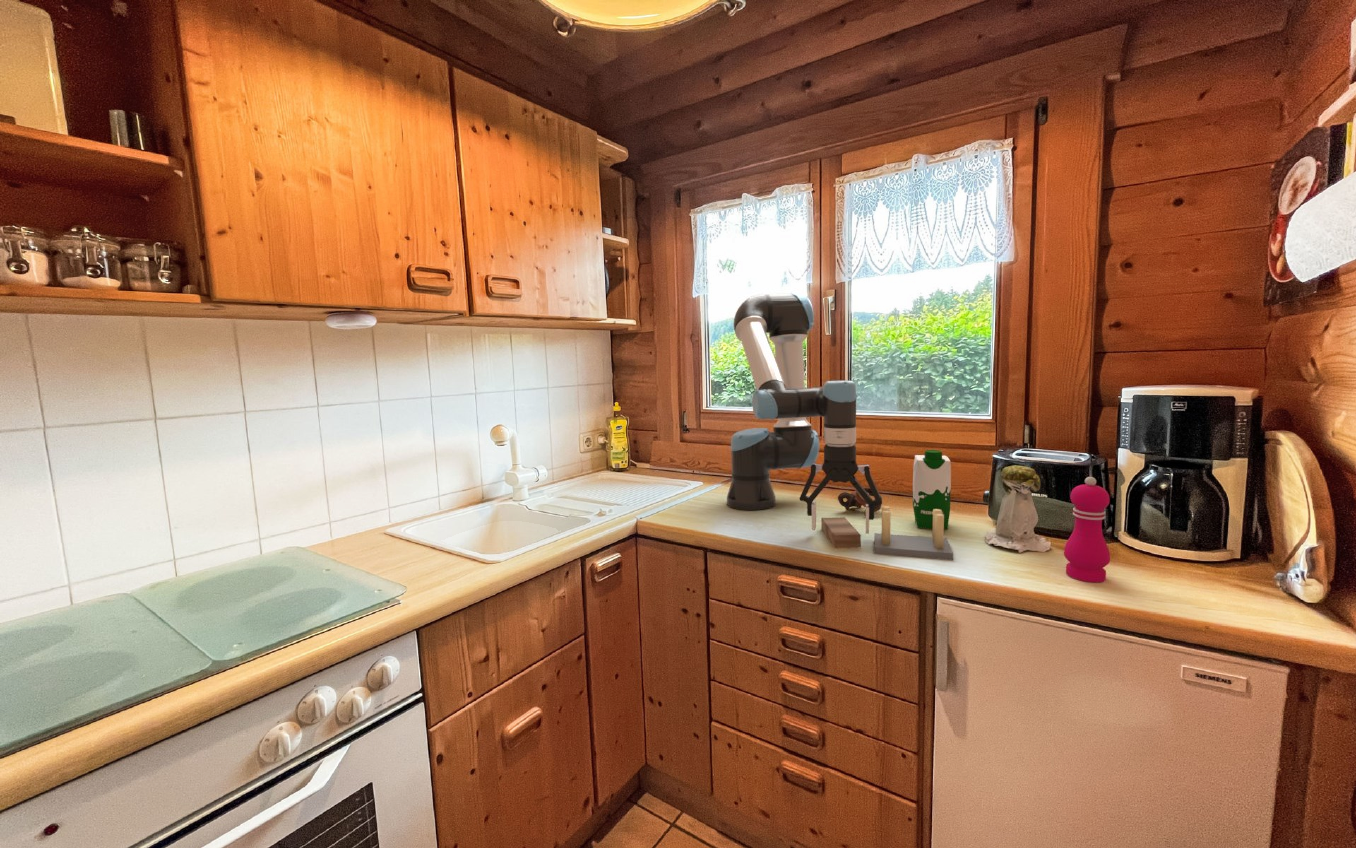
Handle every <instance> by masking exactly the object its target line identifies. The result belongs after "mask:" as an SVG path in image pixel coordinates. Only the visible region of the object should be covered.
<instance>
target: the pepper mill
mask: <svg viewBox="0 0 1356 848" xmlns="http://www.w3.org/2000/svg"><path fill="white" fill-rule="evenodd" d="M1084 483H1085V484H1080V485H1079V484H1078V485H1076V486H1075V487H1073V489H1072V490H1071V492H1070V496H1069V497H1070V501H1071V504H1073V505H1074V507H1073V508H1072V510H1073V512H1072V515H1073V516H1074V521H1075V522H1074V526H1073V527H1074V529H1073V531H1072V532H1071V535H1070V536H1069V537H1068V539H1067V541H1066V543H1065V546H1064V549H1063V550H1064V551H1063V556H1064V557H1065V558H1066V560H1067V561H1068V563H1066V564H1065V574H1066V575H1068V577H1069V578H1072V579H1075V580H1077V581H1082V582H1086V583H1103V582H1105V581H1106V579H1107V571H1106V569H1105V567H1107V566H1108V565H1109V564H1110V562H1111V553H1110V549H1109V547H1108V544H1107V541H1106V540H1105V537H1104V534H1103V525H1102V524H1103V520H1105V519H1106V511H1105V509H1106V508H1107V507H1108V506H1110V505H1109V504H1110V495H1109V493H1108V491H1107V490H1106V488H1103V487H1101V486H1100V485H1097V479H1096V478H1095V477H1093V476H1087V477H1086V478H1085V479H1084Z"/></svg>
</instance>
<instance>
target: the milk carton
mask: <svg viewBox="0 0 1356 848" xmlns="http://www.w3.org/2000/svg"><path fill="white" fill-rule="evenodd" d="M912 470H913V472H912V474H913V475H912V507H913V509H912V510H913V514H914V521H915V524H916V527H917V529H931V530H933V509H940V510H942V514H943V515H944V529H945V530H946V531H948V529H949V521H950V516H951V515H950V514H951V494H952V493H951V490H952V489H951V488H952V486H951V485H952V484H951V483H952V474H951V473H952V472H951V471H952V463H951V460H950V458H949V457H948V456H947V455H943V451H941V450H937V449H926V450H924V455H923V454H921V455H920V454H919V455H918V454H915V455H914V460H913V467H912Z"/></svg>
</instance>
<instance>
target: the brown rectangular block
mask: <svg viewBox="0 0 1356 848" xmlns="http://www.w3.org/2000/svg"><path fill="white" fill-rule="evenodd" d="M821 530H822V532H823V534H824V535H825V536H826V538H827V539H828V540H830V541H829V542H830V543H831V546H833V547H834V549H853V548H854V549H855V548H857V549H859V548H858V547H862V546H861V545H862V543H861V540H862V538H861V537H862V535H861V533H860V532H859V531H858V530H857V529H856V528H855V527H854V525H852V524H851V522H849V520H848V519H847V518H846V516H845V517H844V516H843V517H841V516H837V517H833V516H832V517H821Z"/></svg>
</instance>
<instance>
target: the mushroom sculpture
mask: <svg viewBox="0 0 1356 848" xmlns="http://www.w3.org/2000/svg"><path fill="white" fill-rule="evenodd" d="M1041 478H1043V476H1041ZM1000 479H1001V480H1002V488H1003V490H1004V491H1005V492H1006V493H1005V495H1003V498H1002V499H1001V500H1002V501H1001V504H1000V507H999V511H998V516H997V521H996V526H995V529H989V530H988V531H986V532H985V534H984V537H983V538H984V541H985V544H987V545H988V546H989V545H992V544H993V545H994V546H996V547H998V546H999V547H1002V548H1007V549H1012V550H1017V551H1018V553H1019V554H1020V553H1023V552H1025V551H1033V552H1040V553H1041V552H1042V553H1045V552H1046V551H1049V550H1050V548H1051V539H1050V538H1048V541H1047V540H1046V539H1047V538H1046V537H1041V536H1040V535H1039V534H1036V533H1035V531H1034V529H1035V527H1036V525H1038V524H1037V523H1038V521H1039V517H1038V512H1037V510H1036V507H1035V504H1034V500H1033V498H1032V495H1031V494H1032V493H1035V492H1038V491H1040V489H1041V479H1040V477H1039V475H1038V474H1037V471H1036V470H1035V469H1034V468H1031V467H1028V466H1024V465H1016V464H1015V465H1009V466H1005V467H1004V468H1002V470H1001V472H1000Z"/></svg>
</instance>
